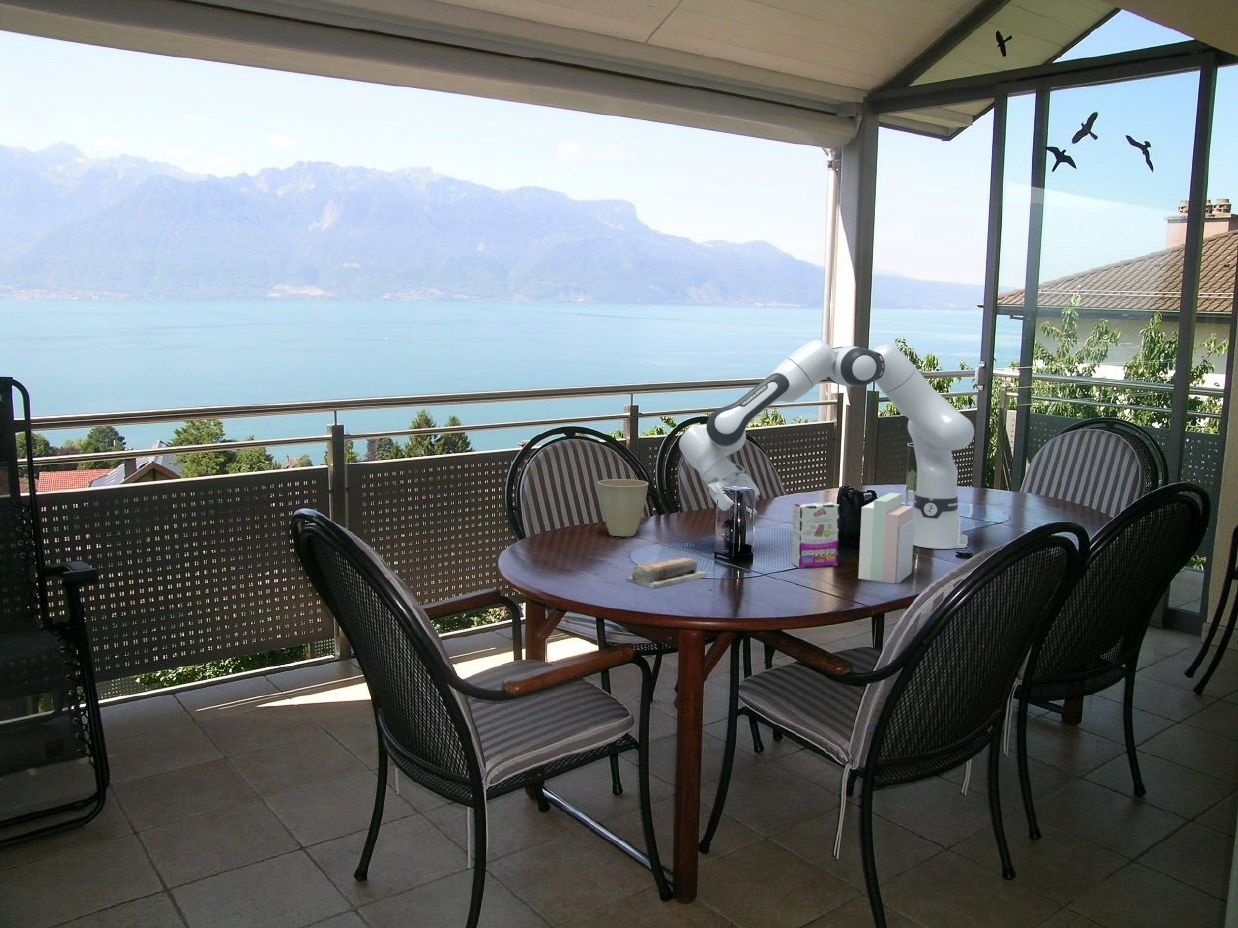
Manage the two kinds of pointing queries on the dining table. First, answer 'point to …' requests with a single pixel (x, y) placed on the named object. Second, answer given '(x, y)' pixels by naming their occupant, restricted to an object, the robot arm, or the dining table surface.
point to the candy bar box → (815, 534)
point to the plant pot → (622, 504)
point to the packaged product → (666, 573)
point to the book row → (886, 540)
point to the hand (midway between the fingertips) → (753, 515)
